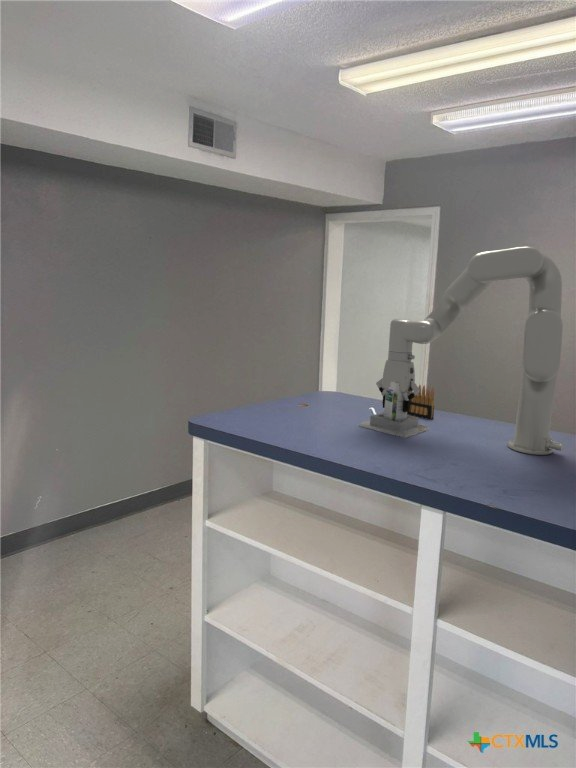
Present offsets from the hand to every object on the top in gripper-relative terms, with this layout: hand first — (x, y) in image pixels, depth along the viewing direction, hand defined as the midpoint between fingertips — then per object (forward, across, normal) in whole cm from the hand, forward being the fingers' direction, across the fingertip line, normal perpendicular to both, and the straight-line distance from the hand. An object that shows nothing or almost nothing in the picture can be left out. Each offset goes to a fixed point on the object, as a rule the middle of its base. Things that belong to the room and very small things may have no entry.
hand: (395, 409), depth 178 cm
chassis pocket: (+7, 0, 0) cm, 7 cm away
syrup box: (+5, 0, 0) cm, 5 cm away
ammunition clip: (+7, +3, -22) cm, 23 cm away
